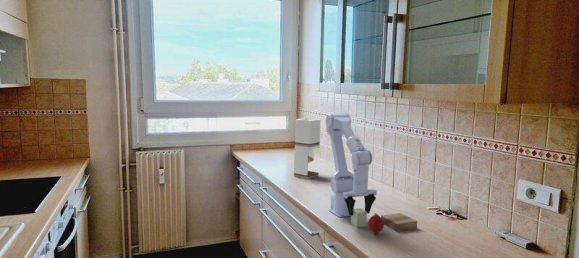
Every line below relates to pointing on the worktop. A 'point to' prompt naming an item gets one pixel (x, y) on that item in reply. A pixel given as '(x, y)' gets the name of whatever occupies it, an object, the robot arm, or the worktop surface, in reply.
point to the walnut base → (399, 222)
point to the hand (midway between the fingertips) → (359, 214)
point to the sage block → (359, 218)
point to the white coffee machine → (305, 146)
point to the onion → (376, 223)
